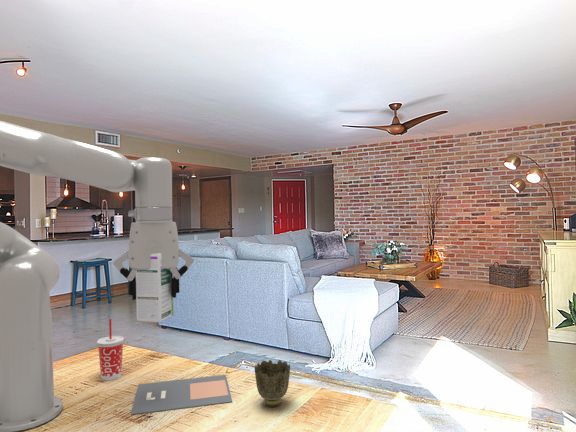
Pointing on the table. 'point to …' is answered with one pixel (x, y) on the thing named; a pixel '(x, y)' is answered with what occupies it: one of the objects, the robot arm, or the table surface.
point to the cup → (272, 381)
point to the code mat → (181, 394)
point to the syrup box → (154, 292)
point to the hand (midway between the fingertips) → (154, 297)
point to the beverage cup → (110, 355)
